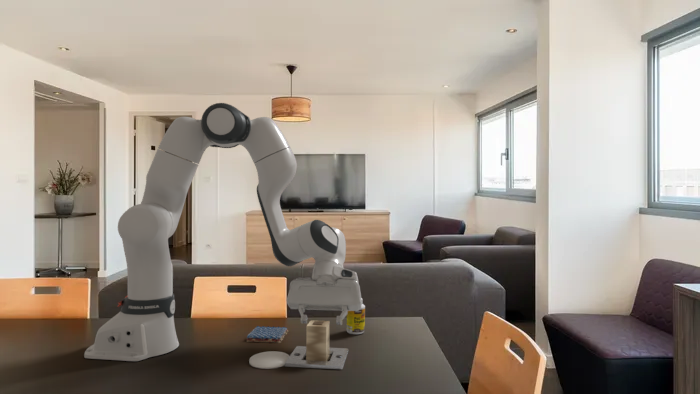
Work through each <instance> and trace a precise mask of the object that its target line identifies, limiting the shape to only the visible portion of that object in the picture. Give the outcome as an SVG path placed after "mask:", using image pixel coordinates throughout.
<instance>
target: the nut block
mask: <svg viewBox="0 0 700 394" xmlns="http://www.w3.org/2000/svg"><path fill="white" fill-rule="evenodd" d="M330 322H331V321H330V320H317V319H316V320H312V319H310V321H308V322H307V323H306V326H305V327H306V328H305V329H306V331H305V332H306V335H305V336H306V337H305V338H306V343H305V344H306V356H305V360H312V361H328V359H330V358H329V357H330V354H329V348H330V341H331V340H330V327H331V325H330Z"/></svg>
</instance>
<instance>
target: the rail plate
mask: <svg viewBox="0 0 700 394" xmlns="http://www.w3.org/2000/svg"><path fill="white" fill-rule="evenodd" d="M348 353H349V348H347V347H346V348H345V347H344V348H343V347H329V355H331V357H330V358H329V359H330V360H329V361H328V360H327V361H312V360H306V346H305V345H304V346H303V345H296V347H294V349H293V351H292V352H291V353H290V354H289V358H288V359H287V361H286V362H285V365H284V367H286V368H287V367H288V368H289V367H290V368H306V369H307V368H308V369H328V370H343V369H344V365H345V362H346V359H347V357H348Z"/></svg>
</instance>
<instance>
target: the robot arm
mask: <svg viewBox="0 0 700 394" xmlns="http://www.w3.org/2000/svg"><path fill="white" fill-rule="evenodd" d="M238 146H242V147H244V148H245V149H246V150H247V152H248V154H249V156H250V158H251V159H252V162H253V164H254V166H255V168H256V172H257V178H258V182H257V183H258V184H257V186H256V195H257V199H258V203H259V207H260V209H261V212H262V215H263V219H264V222H265V225H266V227H267V231H268V234H269V237H270V242H271V247H272V249H271V250H272V254H273V256H274V258H275V259H276V260H277V261H278V262H279V263H281V264H282V265H284V266H286V267H294V266H295V265H298V264H300V263H301V262H303V261H306V260H309V259H311V258H312V259H313V260H314V261H315V262H314V265H313V268H312V274H311V277H300V276H299V277H296V278H293V280H291V281H290V284H289V290H288V295H287V298H286V303H287V306H288V308H289V309H290V310H298V312H299V315H300V324H308V315H307V314H304V313H306V310H307V311H311V310H312V311H313V310H316V311H338V312H340V311H341V313H340V315H336V320H335V321H336V325H340V326H343V324H344V323H343V321H344V319H345V318H346V317H347V314H348V311H359V310H360V309H361V298H362V293H361V286H360V284H359V278H358V274H357V272H356V271H354V270H351V269H347V268H344V263H345V261H346V255H347V241H346V237H345V233H344V232H343V231H341V229H339V228H337V227H333V226H330V225H328V224H327V222H324V221H323V220H320V219H314V220H311V221H308V222H305V223H304V224H301V225H299V226H296V227H293V228H292V229H289V228H288V226H287V223H286V220H285V217H284V214H283V210H282V208H281V207H282V206H281V201H280V200H281V196H282V194H283V193H284V191H285V190H286V188H287V187H288V186H289V185H290V184H291V182H292V181H293V179H294V178H295V176H296V173H297V169H298V162H297V159H296V156H295V154H294V152H293V150H292V148H291V146H290V143H289V142H288V140H287V138H286V136H285V135H284V133H283V132H282V130H281V129H280V127H279V126H278V124H277V123H276V122H275V121H274V119H272V118H270V117H267V116H260V117H255V118H254V119H250V117H249V116H248V115H246V114H245V113H243V112H242V111H241V110H239V108H237V107H236V106H233V105H232V104H230V103H229V104H228V103H226V102H217V103H213V104H211V105H209V106H208V107H207V108H206V109H205V110H204V112H203V113H202V116H201V119H195V118H194V117H190V116H179V117H177V118H175V119H174V120H173V121H172V122H171V124H170V125H169V127H168V128H167V130H166V131H165V134H164V135H163V137H162V139H161V141H160V142H159V145H158V148H157V150H156V152H155V155H154V157H153V159H152V162H151V164H150V166H149V169H148V171H147V174H146V177H145V180H146V181H145V185H144V186H145V188H144V192H143V195H142V200H141V201H140V203H138V204H134V205H133V206H131V207H129V208H128V209H127V210H125V211H124V212H123V213H122V215H121V216H120V217H119V219H118V222H117V231H118V235H119V237H120V238H121V240H122V247H123V251H124V256H125V261H126V269H127V295H126V296H125V297H124V298H122V299H121V300H120V301H118V302H117V304H118V305H117V307H118V308H120V311H119V312H118V313H117V314H115V315H114V316H113V317H111V318H110V319H109V320H108V321H107V322H105V323H104V324H102V326H100V327H99V328H98V330H97V332H96V335H95V339H94V343H93V344H90V346H88V347H87V348H86V350H85V351H84V354H83V356H84V358H85V359H92V360H107V361H108V360H111V361H124V362H125V361H126V362H139V361H142V360H146V359H148V358H152V357H158V356H161V355H164V354H167V353H170V352H172V351H175V350H176V349H177V348H178V347H179V346H180V343H179V342H180V341H179V339H178V336H177V332H176V326H175V317H174V314H175V310H176V301H175V293H173V292H174V288H173V287H174V285H173V282H174V280H173V279H174V268H173V267H174V266H173V262H172V260H171V259H172V258H171V253H170V248H169V238H171V237H172V236H173V235H174V234H175V232H176V230H177V228H178V225H179V222H180V218H181V217H182V216H181V215H182V213H183V210H184V207H185V206H184V205H185V202H186V200H187V199H186V198H187V195H188V192H189V190H190V187H191V184H192V182H193V179H194V176H196V172H197V169H198V167H199V165H200V163H201V160H202V158H203V155H204V154H205V152H206V149H208V148H209V147H211V148H221V149H233V148H235V147H238Z"/></svg>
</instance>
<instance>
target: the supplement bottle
mask: <svg viewBox="0 0 700 394" xmlns="http://www.w3.org/2000/svg"><path fill="white" fill-rule="evenodd" d="M363 301H364V300H363V298H362V297H361V309H360V310H359V311H348V314H347V315H346V332H347V333H348V334H349V335H361V334H363V333H365V330H366V329H365V328H366V305H365V304H364V303H363Z"/></svg>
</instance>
